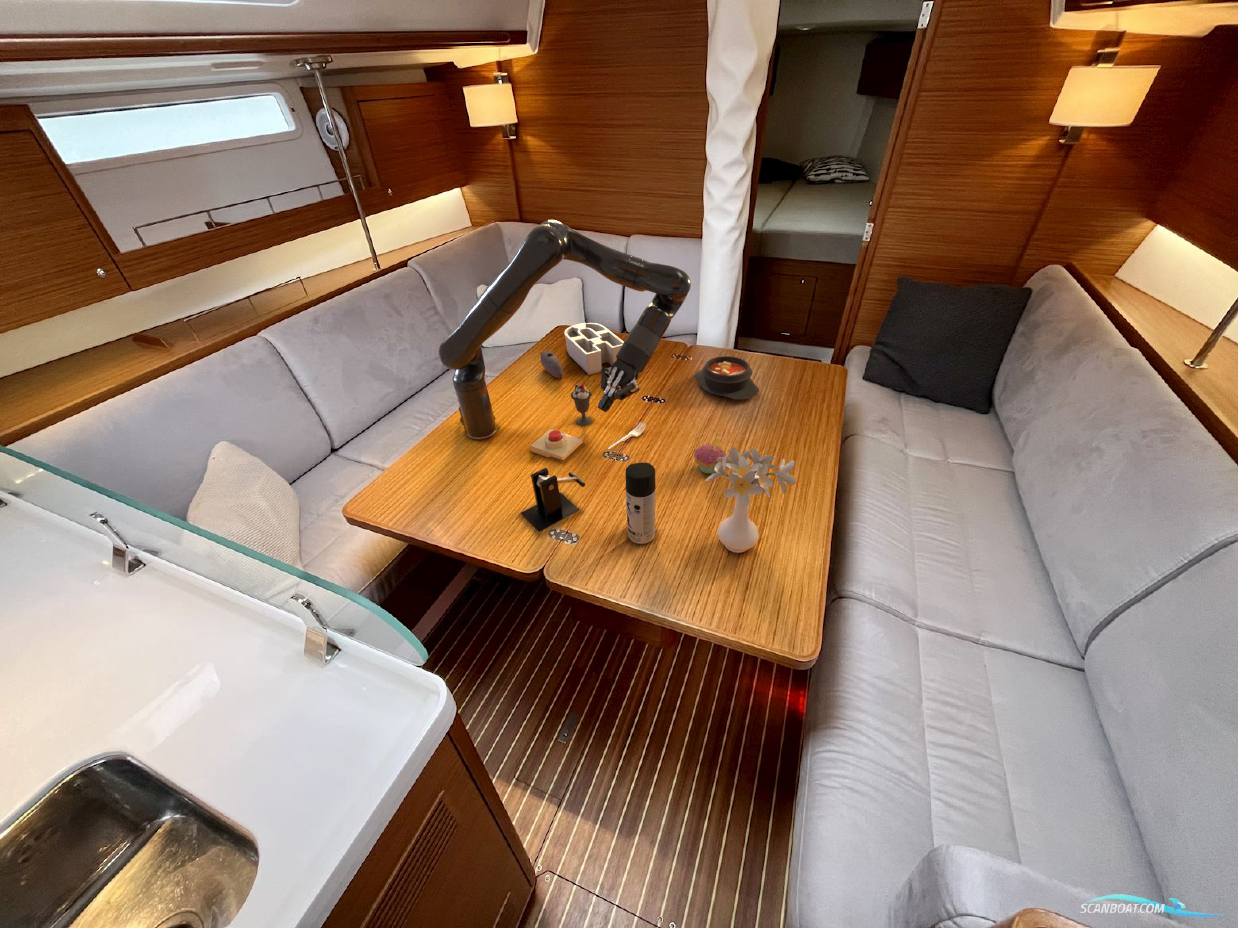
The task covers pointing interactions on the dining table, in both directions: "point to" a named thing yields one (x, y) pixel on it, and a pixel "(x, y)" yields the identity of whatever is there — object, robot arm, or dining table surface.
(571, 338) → the white compartment organizer
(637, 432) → the fork
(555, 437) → the button
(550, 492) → the bracket
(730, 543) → the flower vase
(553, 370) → the perforated stone tool
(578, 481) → the lever
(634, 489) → the spray can
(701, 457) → the cupcake
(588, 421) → the sundae
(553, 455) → the button housing
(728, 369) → the casserole
